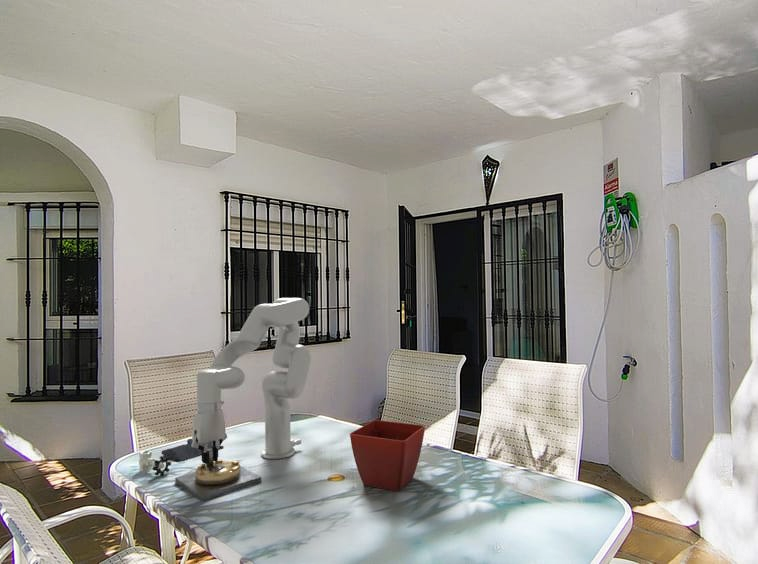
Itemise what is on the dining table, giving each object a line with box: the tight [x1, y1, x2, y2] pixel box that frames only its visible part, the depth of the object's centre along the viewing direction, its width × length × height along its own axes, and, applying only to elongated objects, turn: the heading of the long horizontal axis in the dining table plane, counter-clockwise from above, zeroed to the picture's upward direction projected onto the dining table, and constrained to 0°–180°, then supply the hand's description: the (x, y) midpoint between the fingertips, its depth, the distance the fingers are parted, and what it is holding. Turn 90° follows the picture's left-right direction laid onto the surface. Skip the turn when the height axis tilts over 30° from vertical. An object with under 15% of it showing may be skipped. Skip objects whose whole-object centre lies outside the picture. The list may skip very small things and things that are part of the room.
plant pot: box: [349, 419, 426, 492], centre depth 156 cm, size 19×19×17 cm
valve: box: [138, 450, 172, 477], centre depth 168 cm, size 7×7×12 cm
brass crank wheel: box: [194, 449, 241, 485], centre depth 158 cm, size 14×14×8 cm
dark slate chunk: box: [161, 438, 225, 463], centre depth 190 cm, size 15×22×5 cm
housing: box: [174, 465, 262, 502], centre depth 158 cm, size 20×20×3 cm
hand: (210, 461), depth 162 cm, fingers closed on brass crank wheel, 2 cm apart
